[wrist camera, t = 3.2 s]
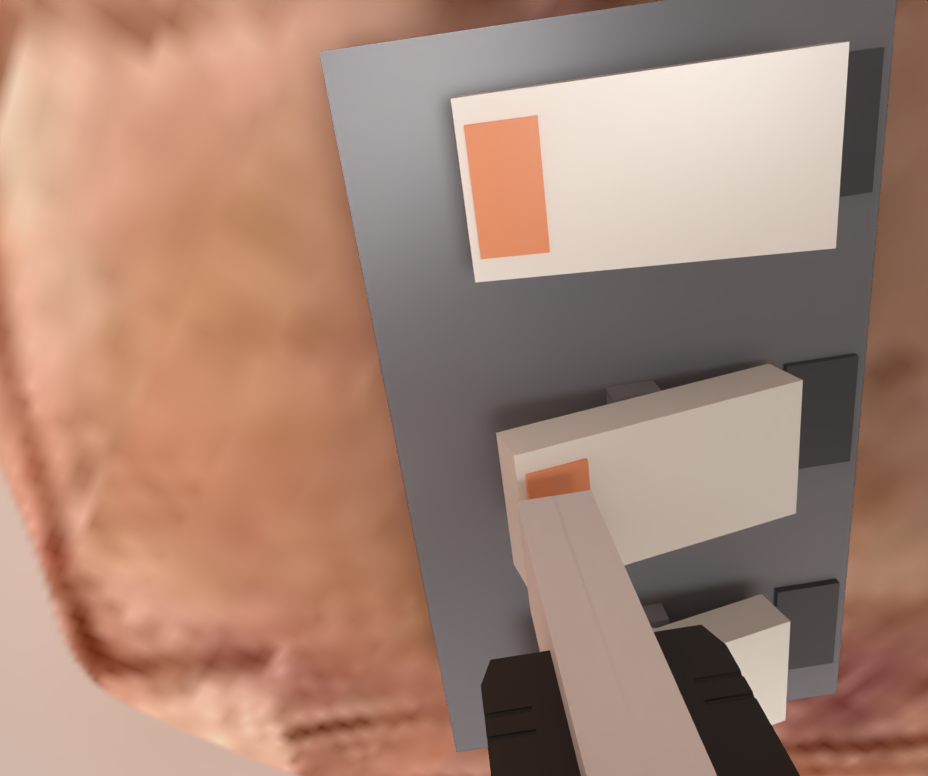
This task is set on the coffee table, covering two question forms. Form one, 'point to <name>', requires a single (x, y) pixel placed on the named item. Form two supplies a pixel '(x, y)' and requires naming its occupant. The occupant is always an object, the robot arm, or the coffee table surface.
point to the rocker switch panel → (603, 323)
